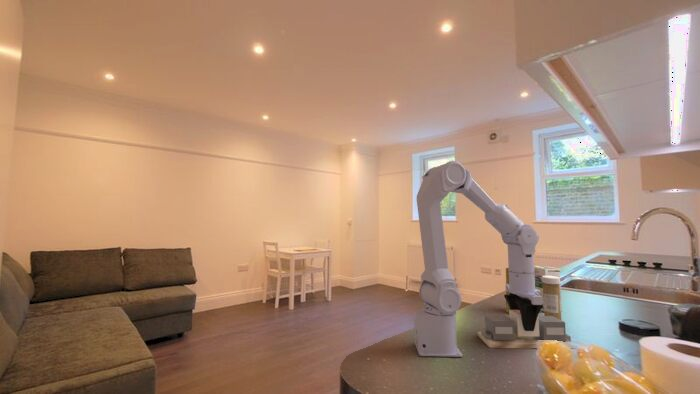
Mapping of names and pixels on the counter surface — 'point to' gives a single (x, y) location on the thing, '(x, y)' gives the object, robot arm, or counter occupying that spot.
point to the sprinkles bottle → (551, 296)
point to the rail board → (504, 337)
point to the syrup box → (545, 271)
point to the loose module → (518, 325)
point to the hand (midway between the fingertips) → (523, 327)
